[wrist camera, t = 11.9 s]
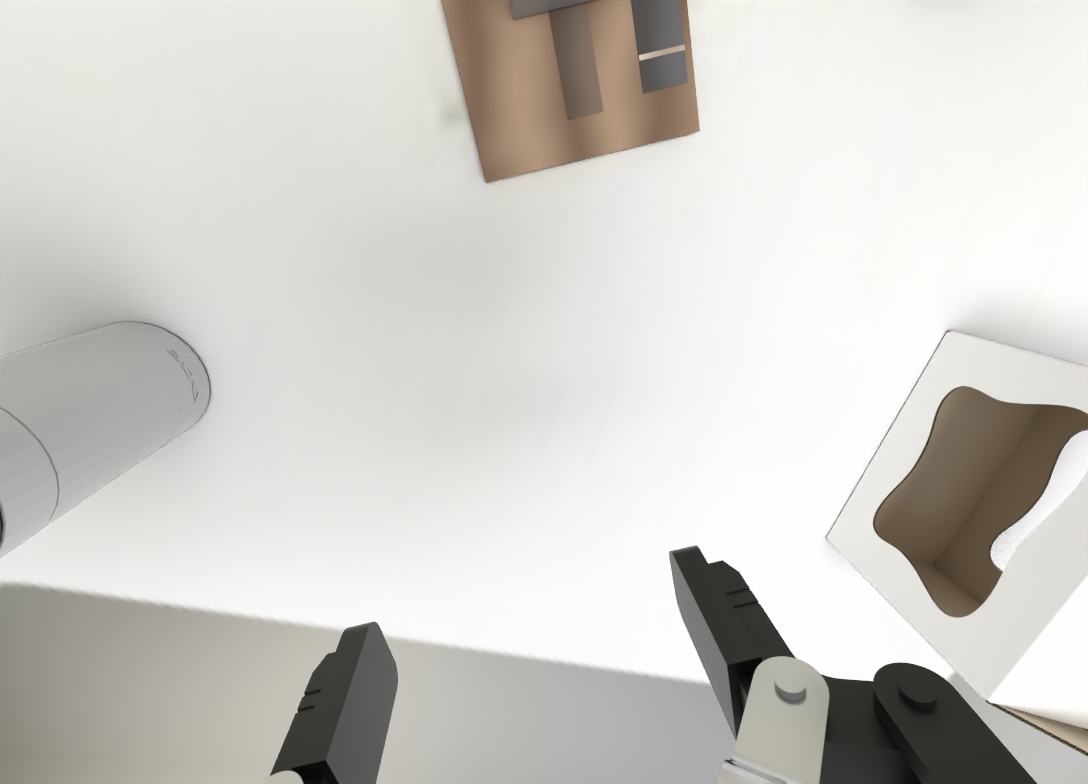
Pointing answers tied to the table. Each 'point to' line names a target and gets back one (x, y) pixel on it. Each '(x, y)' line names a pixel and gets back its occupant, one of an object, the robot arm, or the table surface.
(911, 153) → the table surface
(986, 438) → the gable box
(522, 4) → the block
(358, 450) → the table surface
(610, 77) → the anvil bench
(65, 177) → the table surface
